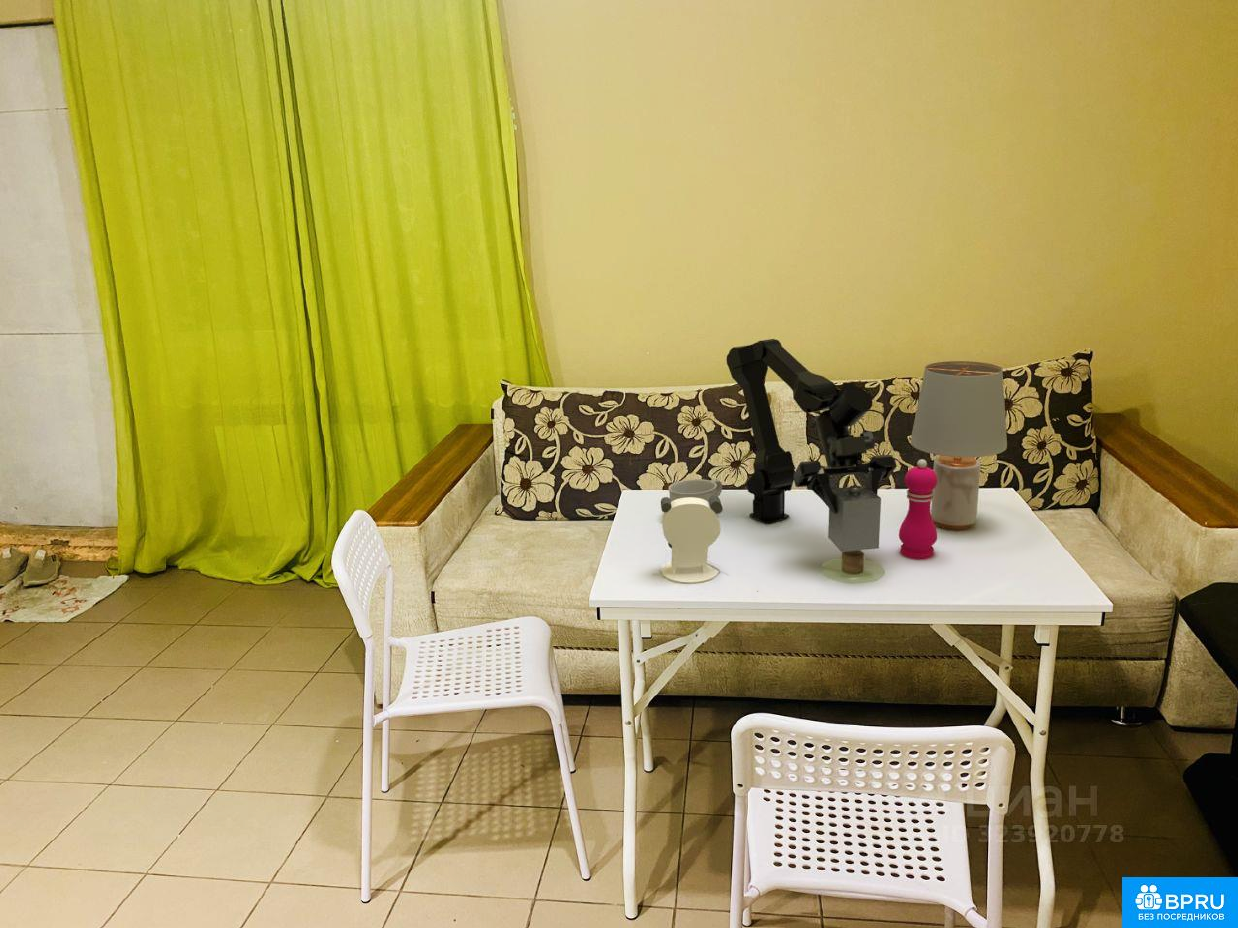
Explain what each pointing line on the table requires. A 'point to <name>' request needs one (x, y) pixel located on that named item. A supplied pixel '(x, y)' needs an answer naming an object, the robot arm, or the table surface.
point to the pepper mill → (919, 513)
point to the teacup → (695, 489)
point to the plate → (868, 575)
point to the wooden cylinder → (852, 562)
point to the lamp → (959, 433)
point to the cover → (855, 519)
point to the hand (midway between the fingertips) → (855, 511)
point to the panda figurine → (690, 537)
